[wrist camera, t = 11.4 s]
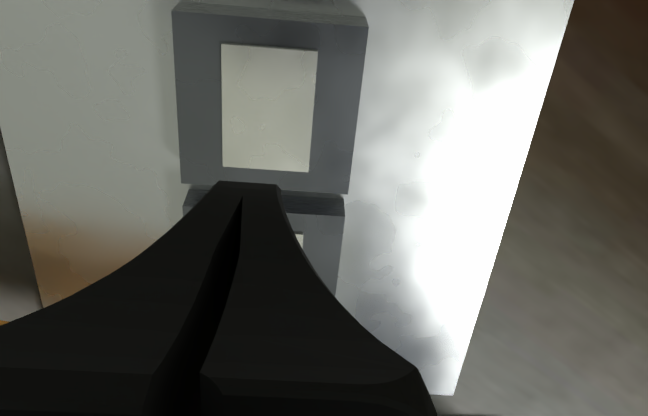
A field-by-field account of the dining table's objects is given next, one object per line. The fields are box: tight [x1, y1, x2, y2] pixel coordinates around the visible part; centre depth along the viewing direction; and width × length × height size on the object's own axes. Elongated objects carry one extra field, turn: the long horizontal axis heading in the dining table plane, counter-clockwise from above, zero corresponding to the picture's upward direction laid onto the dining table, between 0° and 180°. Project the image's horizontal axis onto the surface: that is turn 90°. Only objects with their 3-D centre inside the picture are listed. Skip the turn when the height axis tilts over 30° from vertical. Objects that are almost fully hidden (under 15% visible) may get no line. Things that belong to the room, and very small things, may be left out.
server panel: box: [0, 0, 574, 395], centre depth 21 cm, size 18×18×3 cm
